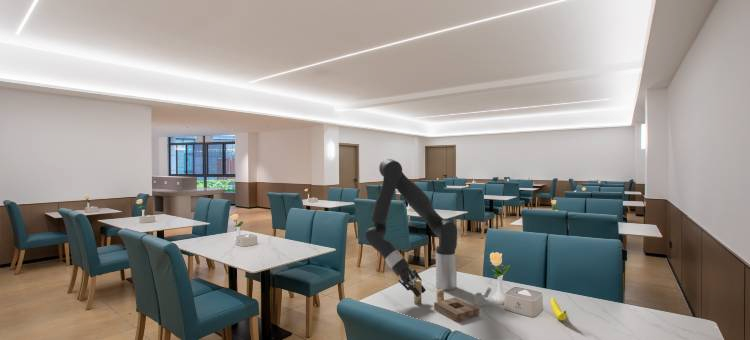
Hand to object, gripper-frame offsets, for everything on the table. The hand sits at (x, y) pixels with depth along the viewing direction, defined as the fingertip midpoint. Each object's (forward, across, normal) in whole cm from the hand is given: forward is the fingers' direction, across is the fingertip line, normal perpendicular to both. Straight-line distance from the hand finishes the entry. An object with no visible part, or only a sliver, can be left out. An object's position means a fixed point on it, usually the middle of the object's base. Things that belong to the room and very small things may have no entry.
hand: (421, 293), depth 164 cm
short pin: (+7, +8, 0) cm, 11 cm away
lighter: (+20, +12, -13) cm, 27 cm away
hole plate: (+15, -1, -8) cm, 17 cm away
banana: (+41, +15, -34) cm, 55 cm away
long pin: (+2, 0, +5) cm, 5 cm away
